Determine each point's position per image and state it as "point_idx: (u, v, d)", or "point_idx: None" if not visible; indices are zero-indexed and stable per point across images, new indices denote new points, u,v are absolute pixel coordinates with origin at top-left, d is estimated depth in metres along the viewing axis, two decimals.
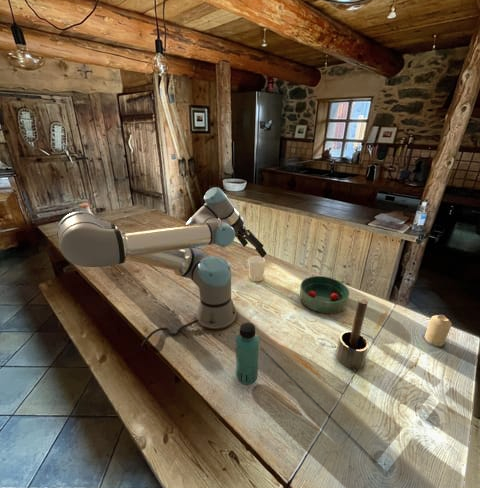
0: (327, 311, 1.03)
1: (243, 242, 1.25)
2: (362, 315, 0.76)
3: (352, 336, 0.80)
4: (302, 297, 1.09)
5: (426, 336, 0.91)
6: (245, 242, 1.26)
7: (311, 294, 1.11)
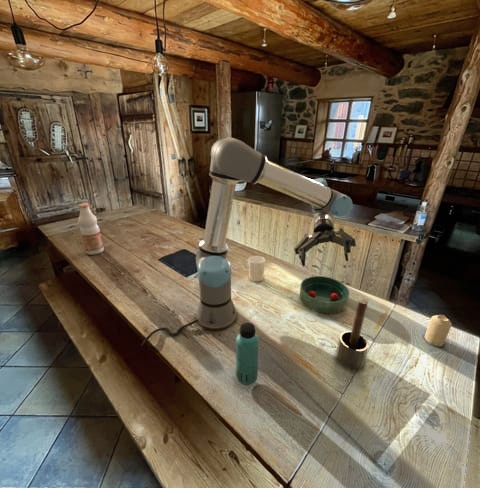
0: (327, 311, 1.03)
1: (303, 257, 0.89)
2: (362, 315, 0.76)
3: (352, 336, 0.80)
4: (302, 297, 1.09)
5: (426, 336, 0.91)
6: (304, 261, 0.89)
7: (311, 294, 1.11)
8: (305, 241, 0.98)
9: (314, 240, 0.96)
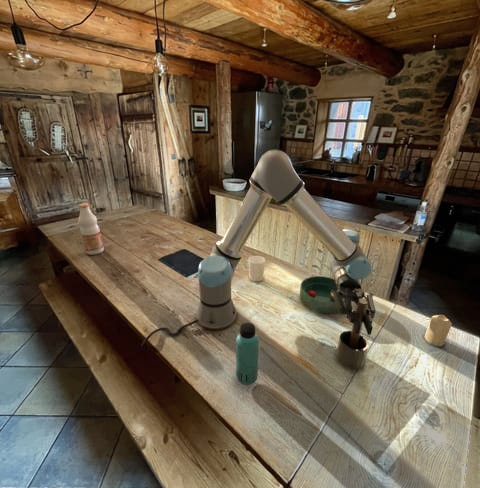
0: (327, 311, 1.03)
1: None
2: (362, 315, 0.76)
3: (352, 336, 0.80)
4: (302, 297, 1.09)
5: (426, 336, 0.91)
6: None
7: (311, 294, 1.11)
8: None
9: None
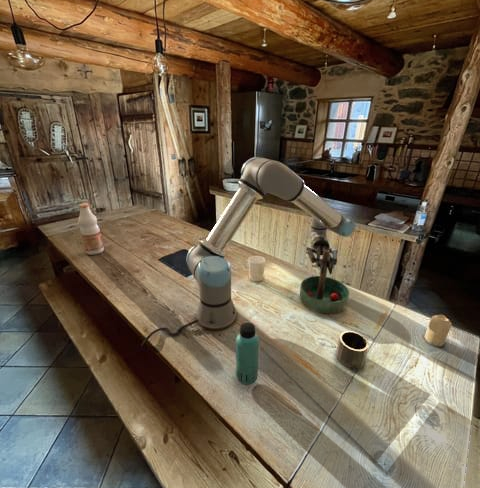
0: (327, 311, 1.03)
1: None
2: (326, 261, 1.02)
3: (320, 279, 1.06)
4: (302, 297, 1.09)
5: (426, 336, 0.91)
6: None
7: None
8: None
9: (320, 252, 1.11)
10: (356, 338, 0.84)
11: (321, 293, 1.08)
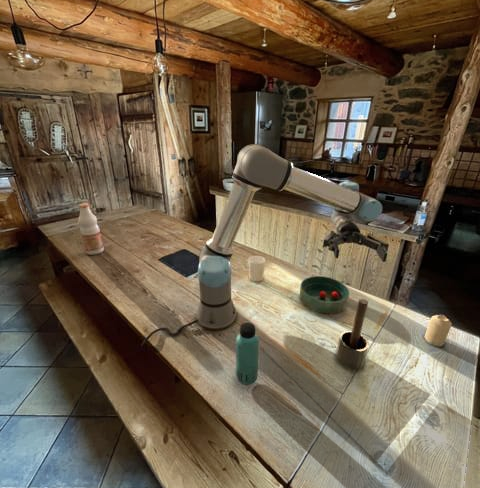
0: (327, 311, 1.03)
1: None
2: (362, 315, 0.76)
3: (352, 336, 0.80)
4: (302, 297, 1.09)
5: (426, 336, 0.91)
6: None
7: None
8: (332, 237, 0.92)
9: (343, 237, 0.91)
10: None
11: None
